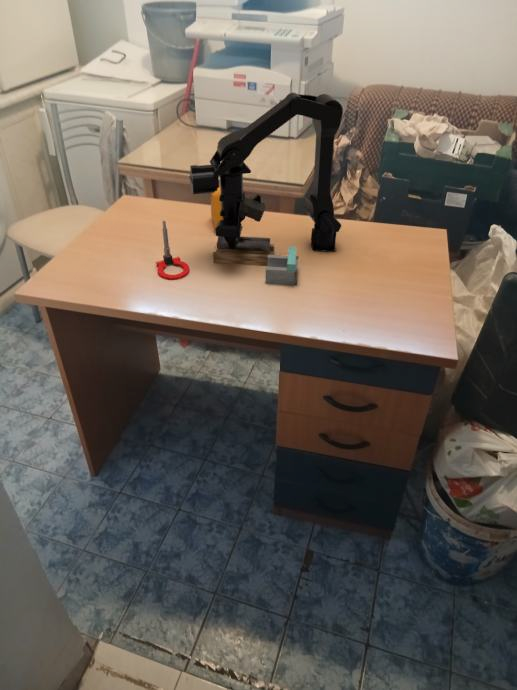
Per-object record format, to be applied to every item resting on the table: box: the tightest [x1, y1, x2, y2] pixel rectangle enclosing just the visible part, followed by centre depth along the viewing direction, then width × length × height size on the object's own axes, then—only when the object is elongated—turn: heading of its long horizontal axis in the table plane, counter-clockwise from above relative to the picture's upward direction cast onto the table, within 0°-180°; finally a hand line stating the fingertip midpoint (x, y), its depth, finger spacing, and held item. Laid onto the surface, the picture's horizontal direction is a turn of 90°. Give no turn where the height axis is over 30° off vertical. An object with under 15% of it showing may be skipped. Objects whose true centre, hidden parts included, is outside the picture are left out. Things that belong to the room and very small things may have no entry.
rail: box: [212, 240, 275, 267], centre depth 140 cm, size 16×8×3 cm, turn 85°
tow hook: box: [155, 220, 191, 281], centre depth 131 cm, size 8×13×9 cm
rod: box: [217, 235, 271, 251], centre depth 138 cm, size 14×4×4 cm, turn 85°
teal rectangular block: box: [287, 246, 297, 272], centre depth 130 cm, size 2×9×2 cm, turn 175°
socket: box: [264, 254, 299, 286], centre depth 132 cm, size 8×8×4 cm
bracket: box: [210, 186, 224, 232], centre depth 152 cm, size 11×7×12 cm, turn 11°
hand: (233, 245), depth 139 cm, fingers closed on rod, 3 cm apart
